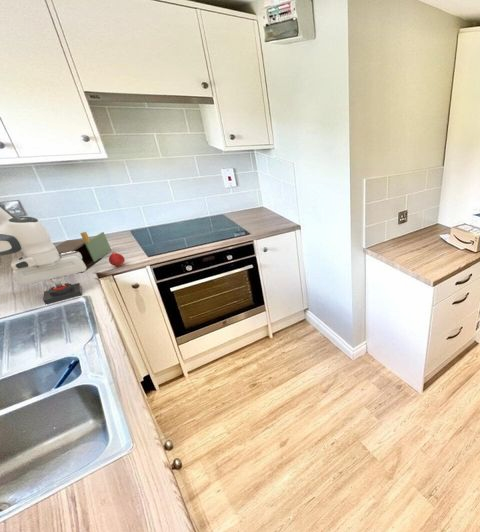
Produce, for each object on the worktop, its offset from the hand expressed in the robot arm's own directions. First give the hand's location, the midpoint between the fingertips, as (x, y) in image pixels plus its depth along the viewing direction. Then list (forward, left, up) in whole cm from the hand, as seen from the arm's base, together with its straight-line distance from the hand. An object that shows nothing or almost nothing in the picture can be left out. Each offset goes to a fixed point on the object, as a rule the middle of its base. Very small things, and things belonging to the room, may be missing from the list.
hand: (60, 286), depth 133 cm
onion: (+20, +18, -5) cm, 27 cm away
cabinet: (+5, +31, -4) cm, 32 cm away
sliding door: (+15, +37, -4) cm, 40 cm away
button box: (0, 0, -4) cm, 4 cm away
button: (0, 0, -2) cm, 2 cm away
